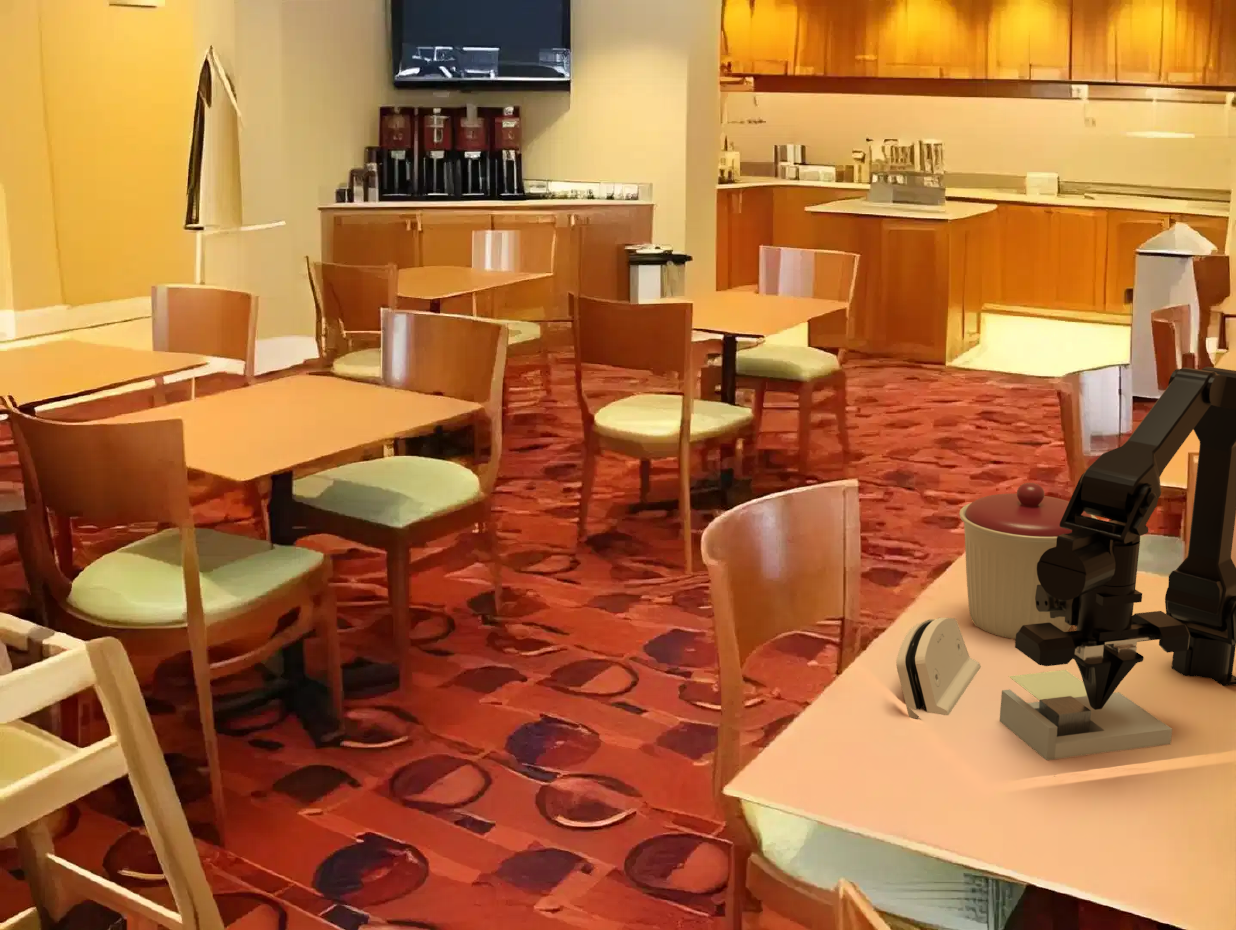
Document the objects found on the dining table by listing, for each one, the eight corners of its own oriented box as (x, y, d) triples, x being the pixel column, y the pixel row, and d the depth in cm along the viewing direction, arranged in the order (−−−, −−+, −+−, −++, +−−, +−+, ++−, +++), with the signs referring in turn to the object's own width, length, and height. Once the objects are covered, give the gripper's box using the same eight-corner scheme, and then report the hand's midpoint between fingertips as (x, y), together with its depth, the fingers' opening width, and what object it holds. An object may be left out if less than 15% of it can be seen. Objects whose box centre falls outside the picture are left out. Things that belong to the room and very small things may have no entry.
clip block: (1070, 696, 154) (1039, 699, 153) (1091, 710, 151) (1059, 714, 150) (1067, 736, 156) (1036, 740, 155) (1087, 751, 152) (1055, 755, 151)
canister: (968, 599, 198) (977, 460, 193) (1097, 620, 190) (1111, 475, 185) (938, 642, 182) (947, 492, 177) (1077, 666, 175) (1092, 510, 169)
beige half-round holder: (950, 726, 158) (926, 646, 157) (912, 731, 160) (888, 652, 159) (984, 674, 172) (962, 600, 171) (948, 679, 175) (927, 606, 174)
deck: (1116, 715, 161) (1120, 676, 159) (1169, 753, 151) (1174, 712, 150) (998, 730, 157) (1001, 690, 156) (1045, 770, 148) (1049, 728, 146)
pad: (1065, 678, 171) (1065, 669, 171) (1101, 705, 163) (1102, 695, 163) (1007, 685, 169) (1008, 676, 169) (1042, 712, 161) (1043, 703, 161)
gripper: (1138, 548, 159) (1125, 671, 163) (994, 561, 155) (985, 688, 159) (1199, 580, 149) (1184, 710, 153) (1048, 595, 144) (1036, 729, 148)
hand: (1095, 708), depth 153 cm, fingers closed
